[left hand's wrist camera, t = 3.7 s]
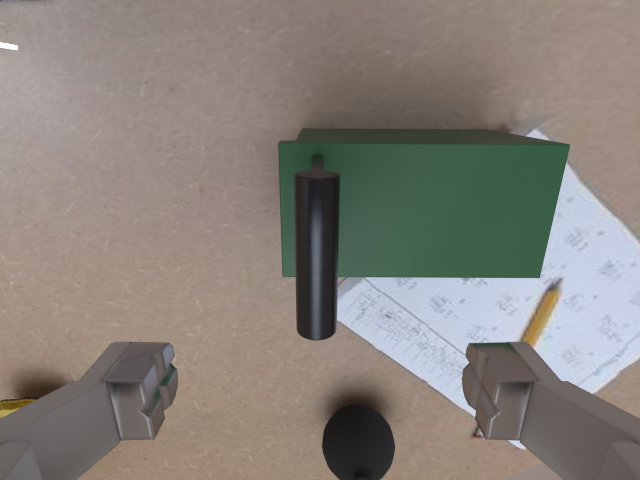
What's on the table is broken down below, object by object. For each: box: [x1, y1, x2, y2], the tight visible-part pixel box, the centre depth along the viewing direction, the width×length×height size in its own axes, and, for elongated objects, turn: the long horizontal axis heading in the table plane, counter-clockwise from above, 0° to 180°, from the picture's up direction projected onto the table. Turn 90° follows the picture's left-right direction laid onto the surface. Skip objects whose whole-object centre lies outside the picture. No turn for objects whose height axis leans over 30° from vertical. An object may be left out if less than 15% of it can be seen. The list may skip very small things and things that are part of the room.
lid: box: [278, 141, 570, 340], centre depth 21 cm, size 18×9×9 cm, turn 90°
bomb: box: [322, 404, 395, 480], centre depth 40 cm, size 8×8×12 cm
